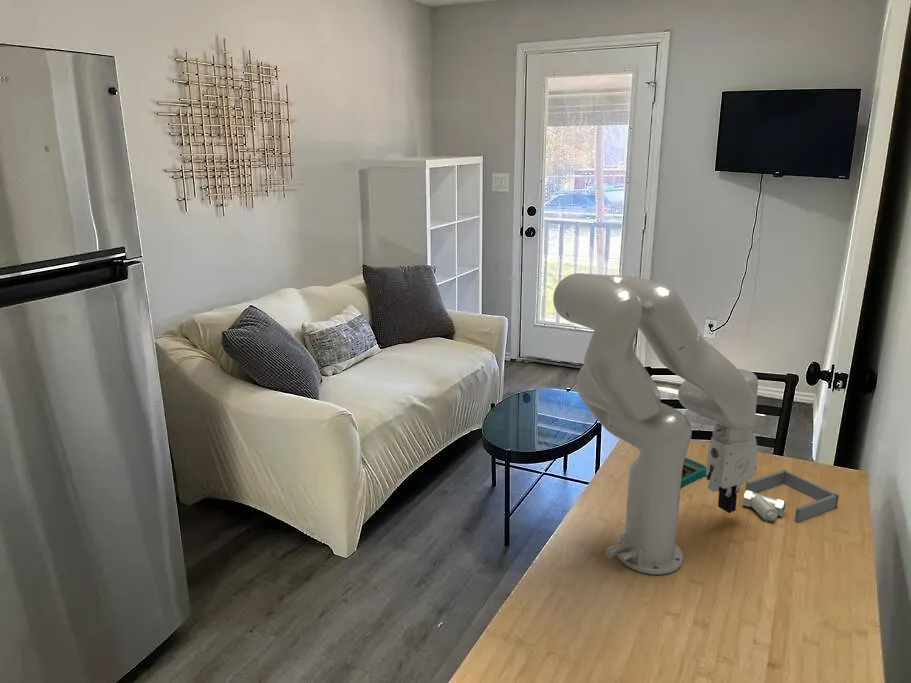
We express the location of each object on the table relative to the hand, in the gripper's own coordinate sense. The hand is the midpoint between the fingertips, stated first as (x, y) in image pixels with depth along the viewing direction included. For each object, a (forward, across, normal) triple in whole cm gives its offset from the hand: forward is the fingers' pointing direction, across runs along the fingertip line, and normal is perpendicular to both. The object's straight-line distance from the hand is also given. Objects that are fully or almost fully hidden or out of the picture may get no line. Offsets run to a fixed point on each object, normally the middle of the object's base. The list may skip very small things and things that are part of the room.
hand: (726, 508), depth 139 cm
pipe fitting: (+4, +10, -1) cm, 11 cm away
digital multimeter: (+5, +6, +20) cm, 21 cm away
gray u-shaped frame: (+4, +20, 0) cm, 20 cm away
